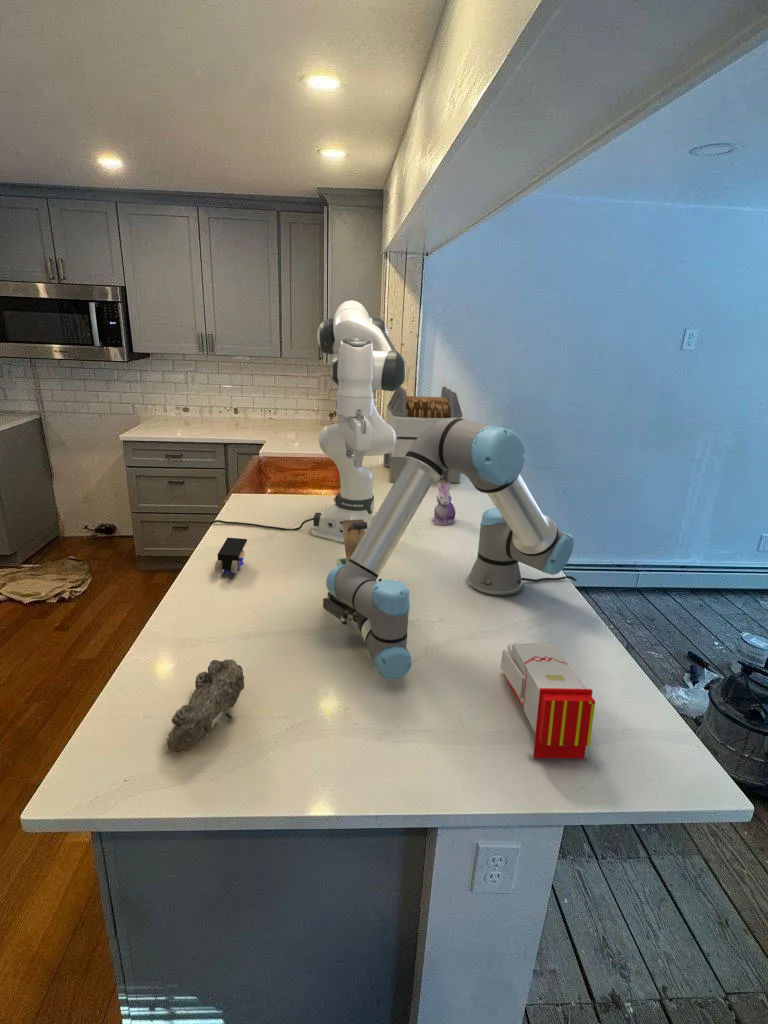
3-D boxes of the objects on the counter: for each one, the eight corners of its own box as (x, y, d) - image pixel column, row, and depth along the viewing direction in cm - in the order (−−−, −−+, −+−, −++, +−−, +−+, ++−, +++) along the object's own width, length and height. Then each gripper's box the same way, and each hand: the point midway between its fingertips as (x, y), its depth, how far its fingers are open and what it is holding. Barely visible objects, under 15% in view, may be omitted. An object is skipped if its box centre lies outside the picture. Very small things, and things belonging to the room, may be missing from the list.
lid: (342, 520, 147) (348, 516, 139) (362, 519, 148) (369, 515, 141) (347, 580, 145) (354, 578, 137) (367, 578, 146) (375, 576, 138)
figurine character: (238, 584, 162) (249, 557, 175) (236, 562, 158) (247, 536, 172) (215, 584, 161) (227, 556, 175) (212, 561, 158) (225, 535, 171)
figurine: (440, 527, 207) (443, 488, 202) (426, 518, 215) (428, 480, 210) (462, 524, 211) (465, 485, 206) (446, 515, 220) (450, 478, 215)
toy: (549, 626, 126) (605, 697, 97) (544, 681, 129) (596, 766, 100) (495, 625, 126) (534, 696, 96) (491, 680, 128) (528, 765, 99)
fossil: (192, 660, 117) (244, 628, 112) (224, 691, 120) (276, 661, 115) (142, 746, 98) (202, 712, 93) (182, 779, 101) (242, 748, 96)
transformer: (382, 463, 289) (386, 382, 275) (445, 464, 293) (451, 384, 279) (390, 482, 257) (394, 392, 243) (460, 483, 261) (468, 394, 247)
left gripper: (378, 414, 130) (376, 472, 135) (358, 400, 148) (356, 452, 153) (351, 415, 128) (350, 473, 133) (334, 400, 147) (333, 452, 151)
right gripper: (322, 648, 127) (308, 602, 146) (426, 636, 133) (399, 594, 153) (323, 619, 124) (308, 576, 144) (428, 608, 131) (401, 568, 150)
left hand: (353, 462), depth 143 cm, fingers open, 8 cm apart
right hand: (355, 585), depth 148 cm, fingers open, 12 cm apart
